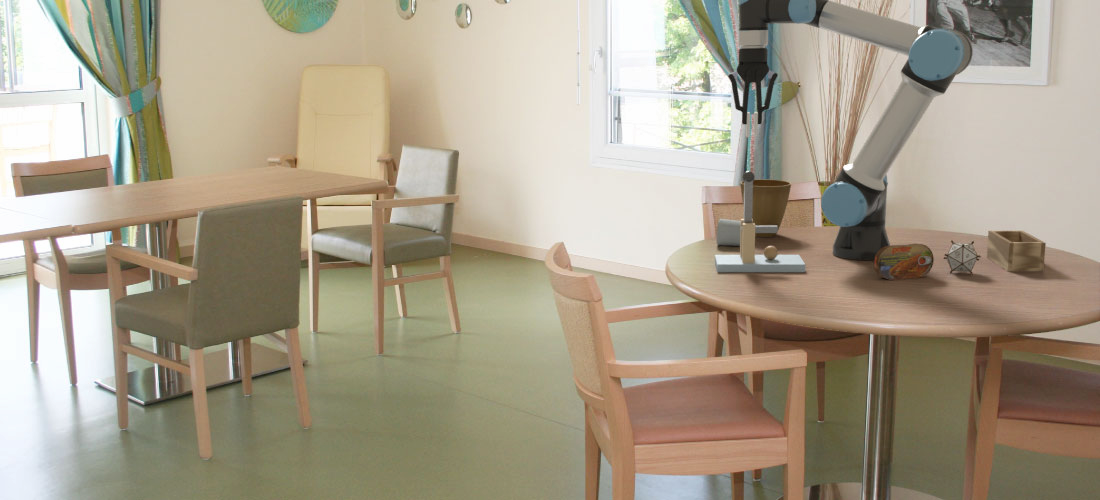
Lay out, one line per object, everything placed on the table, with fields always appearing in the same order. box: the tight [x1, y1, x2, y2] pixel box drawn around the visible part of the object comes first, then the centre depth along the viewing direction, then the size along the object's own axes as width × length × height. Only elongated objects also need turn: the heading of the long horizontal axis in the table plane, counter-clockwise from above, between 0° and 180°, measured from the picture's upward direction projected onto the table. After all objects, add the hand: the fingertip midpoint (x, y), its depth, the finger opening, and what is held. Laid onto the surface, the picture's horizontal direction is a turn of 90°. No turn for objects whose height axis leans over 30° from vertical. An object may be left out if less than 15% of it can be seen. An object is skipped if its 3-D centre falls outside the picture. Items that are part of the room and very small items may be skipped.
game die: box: [943, 239, 982, 275], centre depth 256 cm, size 9×8×10 cm
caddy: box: [986, 230, 1047, 272], centre depth 264 cm, size 9×17×7 cm, turn 174°
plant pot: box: [739, 178, 792, 238], centre depth 309 cm, size 15×15×16 cm
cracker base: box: [714, 218, 806, 273], centre depth 267 cm, size 22×12×12 cm, turn 84°
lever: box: [741, 170, 779, 234], centre depth 264 cm, size 9×4×17 cm, turn 84°
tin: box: [873, 243, 935, 281], centre depth 252 cm, size 15×3×8 cm, turn 102°
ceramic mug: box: [715, 218, 741, 247], centre depth 297 cm, size 11×8×8 cm
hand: (751, 136), depth 276 cm, fingers closed
